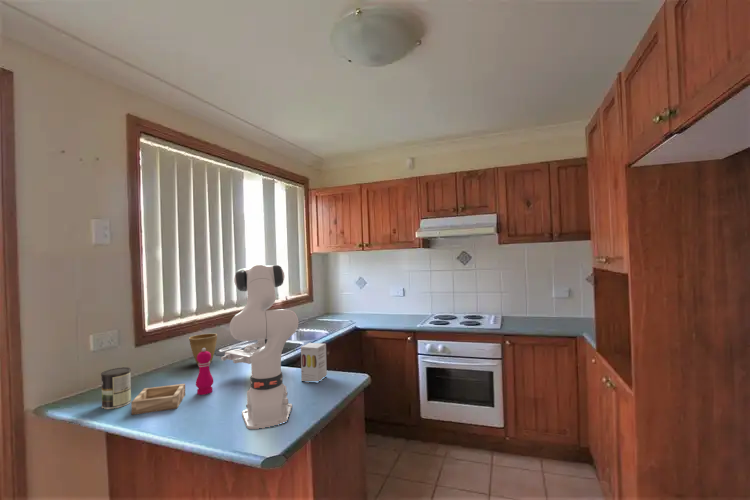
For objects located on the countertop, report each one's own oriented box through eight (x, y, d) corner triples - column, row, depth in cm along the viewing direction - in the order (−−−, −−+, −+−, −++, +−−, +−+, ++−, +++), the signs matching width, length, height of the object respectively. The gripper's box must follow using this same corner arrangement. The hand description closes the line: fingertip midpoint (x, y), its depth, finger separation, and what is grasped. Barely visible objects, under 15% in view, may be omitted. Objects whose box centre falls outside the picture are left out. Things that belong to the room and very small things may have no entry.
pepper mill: (206, 395, 161) (205, 350, 162) (192, 395, 163) (191, 349, 163) (217, 389, 168) (215, 346, 169) (203, 389, 170) (202, 345, 170)
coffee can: (97, 411, 148) (97, 376, 149) (106, 402, 158) (105, 369, 158) (127, 406, 152) (127, 372, 152) (134, 398, 162) (133, 366, 162)
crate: (177, 408, 148) (176, 396, 148) (131, 414, 143) (131, 402, 144) (185, 394, 163) (185, 383, 163) (144, 400, 159) (144, 388, 159)
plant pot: (221, 359, 221) (220, 332, 221) (212, 366, 206) (211, 338, 207) (196, 360, 220) (195, 333, 220) (185, 368, 205) (184, 339, 206)
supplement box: (300, 382, 175) (299, 346, 175) (310, 376, 184) (309, 342, 184) (318, 383, 172) (317, 347, 172) (327, 377, 181) (326, 343, 181)
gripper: (238, 345, 193) (214, 351, 182) (264, 349, 182) (241, 356, 171) (239, 357, 193) (215, 363, 182) (265, 362, 182) (241, 369, 171)
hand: (227, 360), depth 176 cm, fingers open, 8 cm apart
